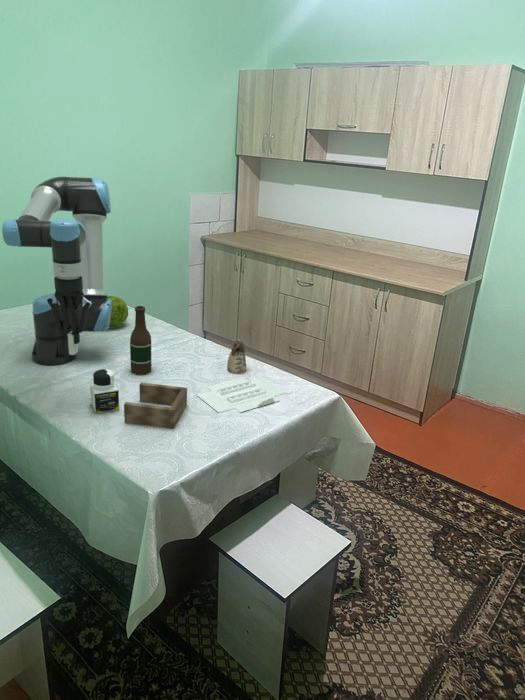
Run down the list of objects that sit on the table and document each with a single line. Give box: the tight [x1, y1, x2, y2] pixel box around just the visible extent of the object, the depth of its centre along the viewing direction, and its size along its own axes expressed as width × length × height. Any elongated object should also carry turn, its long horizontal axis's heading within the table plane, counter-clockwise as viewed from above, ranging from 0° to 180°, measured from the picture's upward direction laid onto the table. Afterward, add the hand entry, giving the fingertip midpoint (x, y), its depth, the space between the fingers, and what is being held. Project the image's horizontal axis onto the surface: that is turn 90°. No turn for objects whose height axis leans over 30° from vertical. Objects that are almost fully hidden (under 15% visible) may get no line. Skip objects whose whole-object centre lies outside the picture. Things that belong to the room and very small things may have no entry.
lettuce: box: [108, 295, 129, 329], centre depth 232 cm, size 14×23×13 cm, turn 35°
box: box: [123, 382, 188, 429], centre depth 163 cm, size 15×15×6 cm
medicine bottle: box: [89, 368, 120, 414], centre depth 163 cm, size 7×7×12 cm
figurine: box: [226, 339, 247, 375], centre depth 195 cm, size 7×7×12 cm
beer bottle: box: [129, 305, 152, 376], centre depth 186 cm, size 8×8×24 cm
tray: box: [195, 377, 288, 414], centre depth 179 cm, size 20×28×4 cm
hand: (73, 353), depth 159 cm, fingers closed
